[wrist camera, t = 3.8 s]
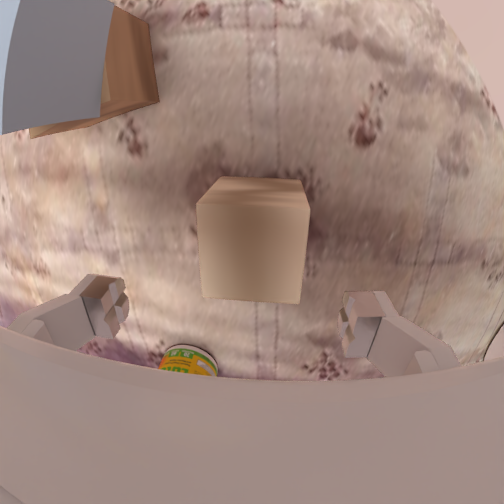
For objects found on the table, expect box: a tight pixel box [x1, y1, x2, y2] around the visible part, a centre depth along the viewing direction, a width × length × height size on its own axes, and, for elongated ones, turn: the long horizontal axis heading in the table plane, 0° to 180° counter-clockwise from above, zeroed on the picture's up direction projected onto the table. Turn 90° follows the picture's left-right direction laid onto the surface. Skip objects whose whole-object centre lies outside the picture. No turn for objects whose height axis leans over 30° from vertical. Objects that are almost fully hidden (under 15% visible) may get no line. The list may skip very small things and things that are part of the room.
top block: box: [0, 0, 114, 135], centre depth 7 cm, size 6×6×6 cm
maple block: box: [196, 176, 310, 304], centre depth 16 cm, size 5×5×6 cm
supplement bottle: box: [158, 345, 218, 377], centre depth 22 cm, size 5×5×10 cm
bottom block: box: [29, 5, 160, 139], centre depth 12 cm, size 6×6×6 cm
